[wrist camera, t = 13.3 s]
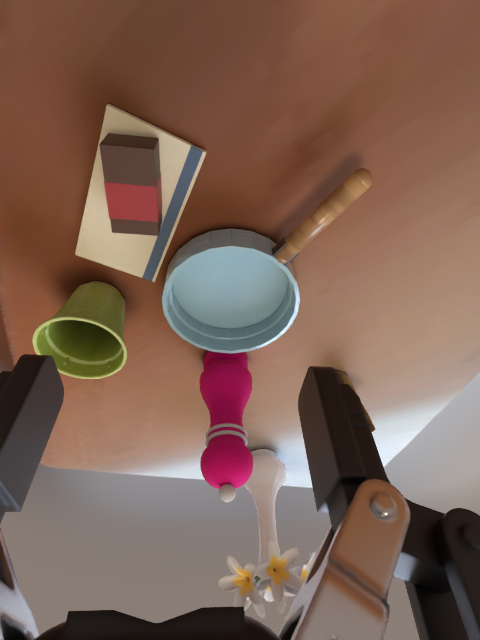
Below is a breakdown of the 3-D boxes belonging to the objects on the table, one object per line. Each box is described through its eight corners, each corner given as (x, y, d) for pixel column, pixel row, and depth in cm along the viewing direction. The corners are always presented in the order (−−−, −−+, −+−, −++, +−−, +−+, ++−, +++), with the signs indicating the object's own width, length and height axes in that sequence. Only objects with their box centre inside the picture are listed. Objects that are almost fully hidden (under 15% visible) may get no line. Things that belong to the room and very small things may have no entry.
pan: (193, 203, 37) (190, 222, 34) (319, 257, 42) (327, 278, 39) (149, 308, 46) (144, 331, 43) (257, 343, 51) (260, 365, 48)
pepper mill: (252, 372, 55) (264, 511, 40) (206, 377, 56) (200, 517, 41) (247, 338, 50) (258, 483, 35) (196, 344, 51) (185, 490, 36)
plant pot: (68, 256, 40) (39, 305, 34) (149, 285, 44) (137, 336, 37) (54, 313, 46) (27, 365, 39) (127, 336, 49) (113, 387, 43)
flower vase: (301, 471, 78) (327, 620, 59) (216, 469, 76) (214, 624, 57) (317, 439, 69) (353, 602, 51) (221, 436, 67) (222, 605, 49)
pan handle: (280, 260, 39) (283, 271, 38) (267, 250, 38) (269, 260, 37) (373, 174, 33) (380, 183, 32) (360, 160, 32) (366, 168, 31)
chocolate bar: (107, 132, 32) (98, 144, 29) (159, 137, 32) (154, 149, 30) (118, 217, 37) (111, 232, 35) (162, 220, 37) (159, 236, 35)
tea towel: (108, 103, 31) (106, 104, 30) (206, 150, 34) (206, 153, 33) (76, 252, 40) (74, 255, 40) (155, 279, 43) (154, 282, 43)
